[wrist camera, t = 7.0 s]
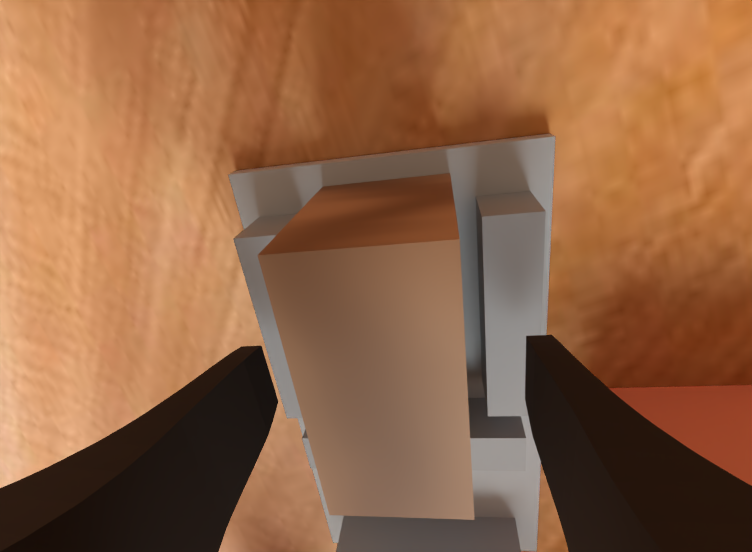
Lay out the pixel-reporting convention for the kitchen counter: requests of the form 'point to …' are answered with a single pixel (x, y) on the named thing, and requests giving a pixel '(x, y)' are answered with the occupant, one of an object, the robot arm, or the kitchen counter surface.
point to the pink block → (702, 420)
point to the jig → (481, 321)
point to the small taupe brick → (378, 345)
